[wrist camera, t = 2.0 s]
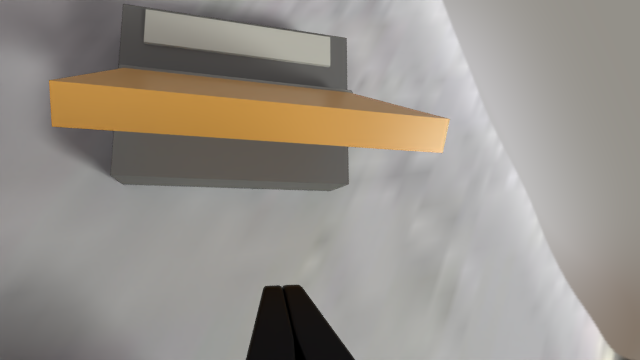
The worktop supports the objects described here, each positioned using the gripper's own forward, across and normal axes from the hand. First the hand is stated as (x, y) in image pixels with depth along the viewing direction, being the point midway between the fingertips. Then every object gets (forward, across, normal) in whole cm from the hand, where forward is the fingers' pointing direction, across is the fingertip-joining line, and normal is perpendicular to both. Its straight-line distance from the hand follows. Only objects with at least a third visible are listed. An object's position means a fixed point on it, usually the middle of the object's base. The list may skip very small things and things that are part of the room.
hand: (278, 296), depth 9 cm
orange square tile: (+12, 0, 0) cm, 12 cm away
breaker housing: (+15, 0, +3) cm, 15 cm away
